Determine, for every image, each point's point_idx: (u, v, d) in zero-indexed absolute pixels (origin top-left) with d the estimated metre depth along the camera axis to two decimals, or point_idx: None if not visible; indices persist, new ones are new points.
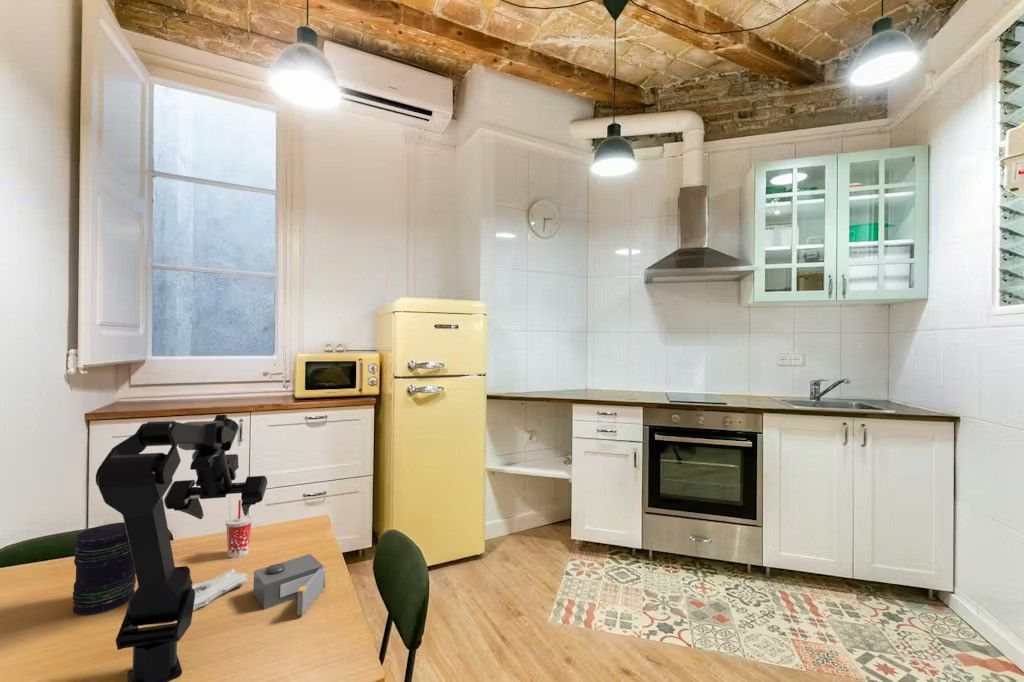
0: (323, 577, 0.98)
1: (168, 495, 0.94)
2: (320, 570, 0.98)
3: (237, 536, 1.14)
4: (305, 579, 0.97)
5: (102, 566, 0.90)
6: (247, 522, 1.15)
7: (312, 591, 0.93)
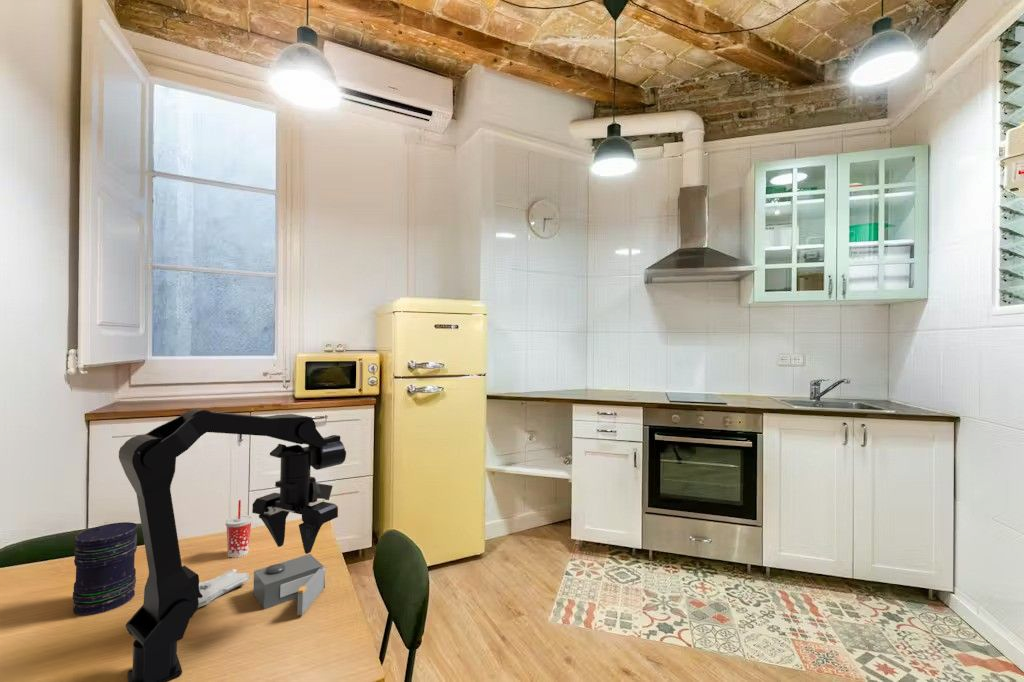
0: (323, 577, 0.98)
1: (259, 498, 0.94)
2: (320, 570, 0.98)
3: (237, 536, 1.14)
4: (305, 579, 0.97)
5: (102, 566, 0.90)
6: (247, 522, 1.15)
7: (312, 591, 0.93)
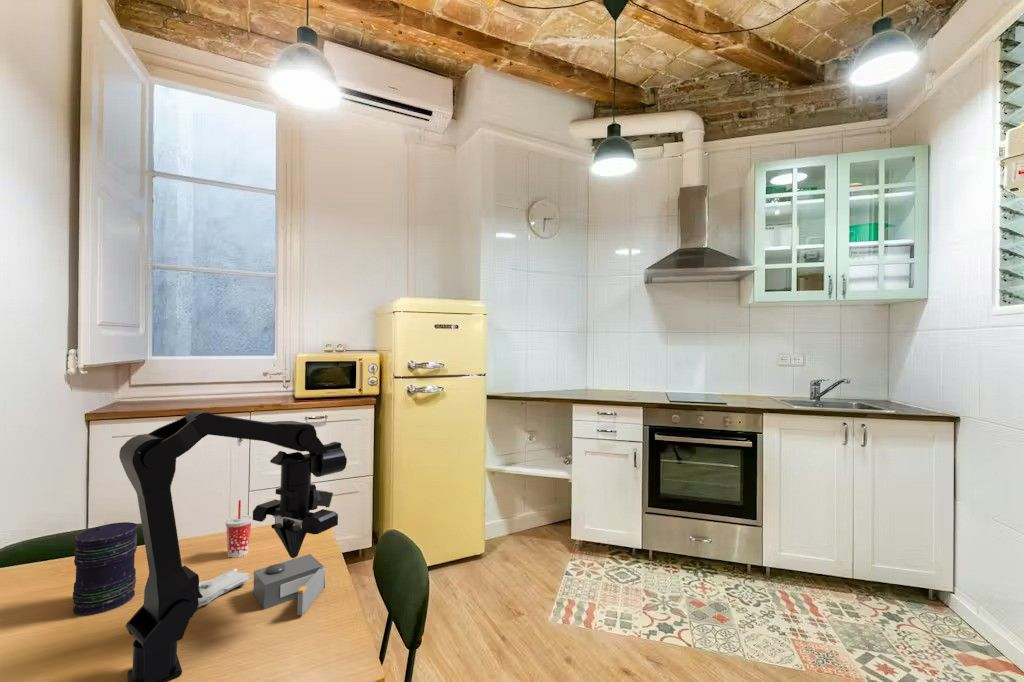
0: (323, 577, 0.98)
1: (259, 505, 0.94)
2: (320, 570, 0.98)
3: (237, 536, 1.14)
4: (305, 579, 0.97)
5: (102, 566, 0.90)
6: (247, 522, 1.15)
7: (312, 591, 0.93)
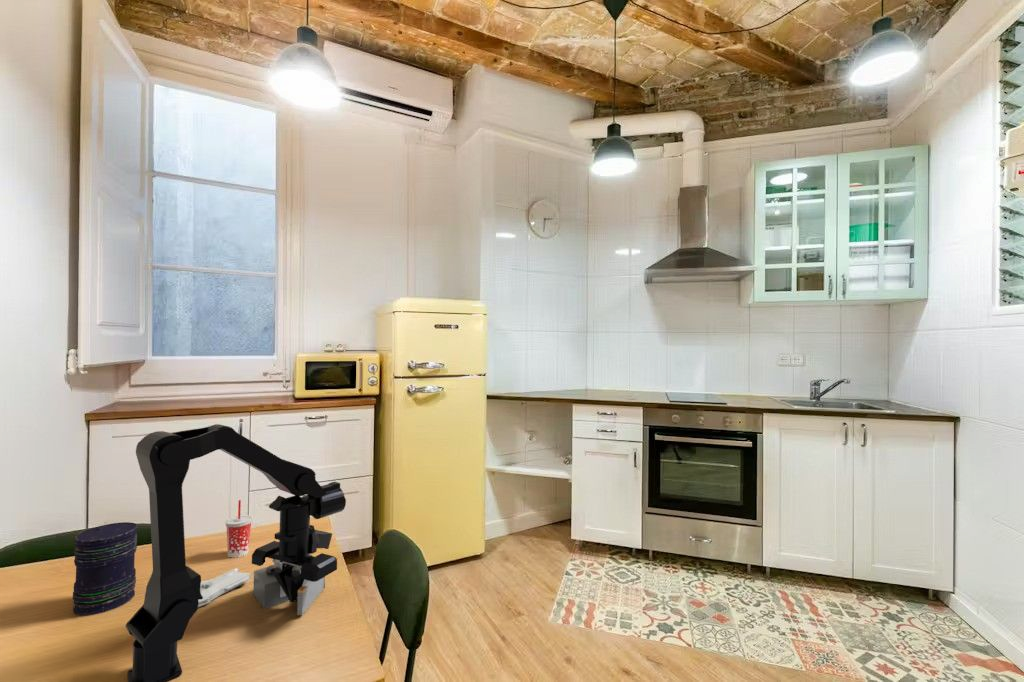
0: (323, 577, 0.98)
1: (258, 548, 0.94)
2: None
3: (237, 536, 1.14)
4: None
5: (102, 566, 0.90)
6: (247, 522, 1.15)
7: (312, 591, 0.93)
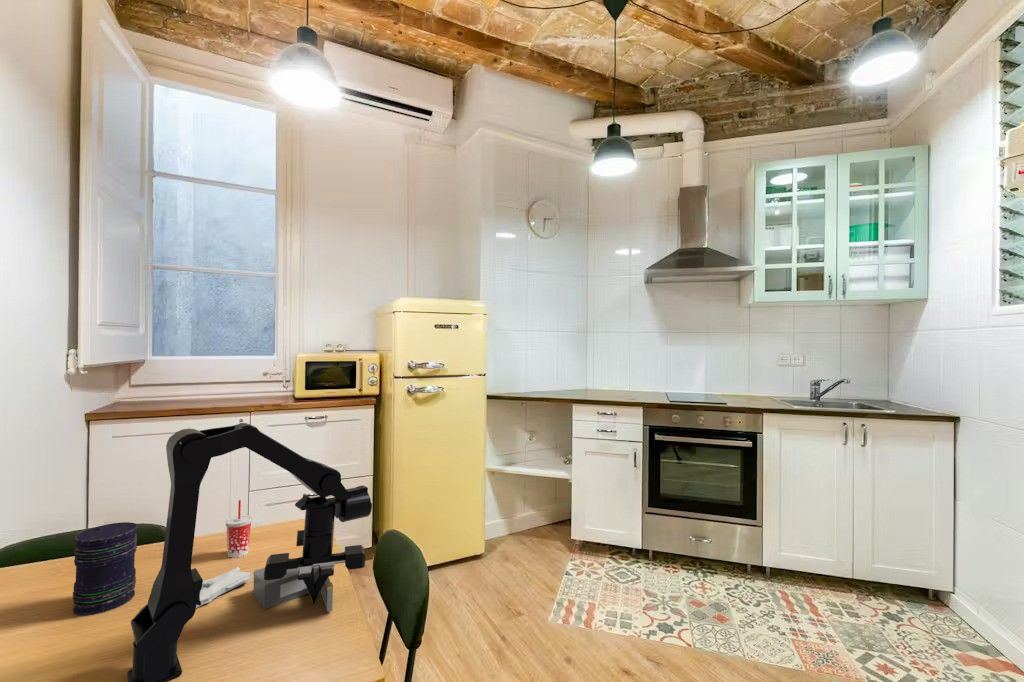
0: None
1: (269, 562, 0.87)
2: None
3: (237, 536, 1.14)
4: None
5: (102, 566, 0.90)
6: (247, 522, 1.15)
7: None
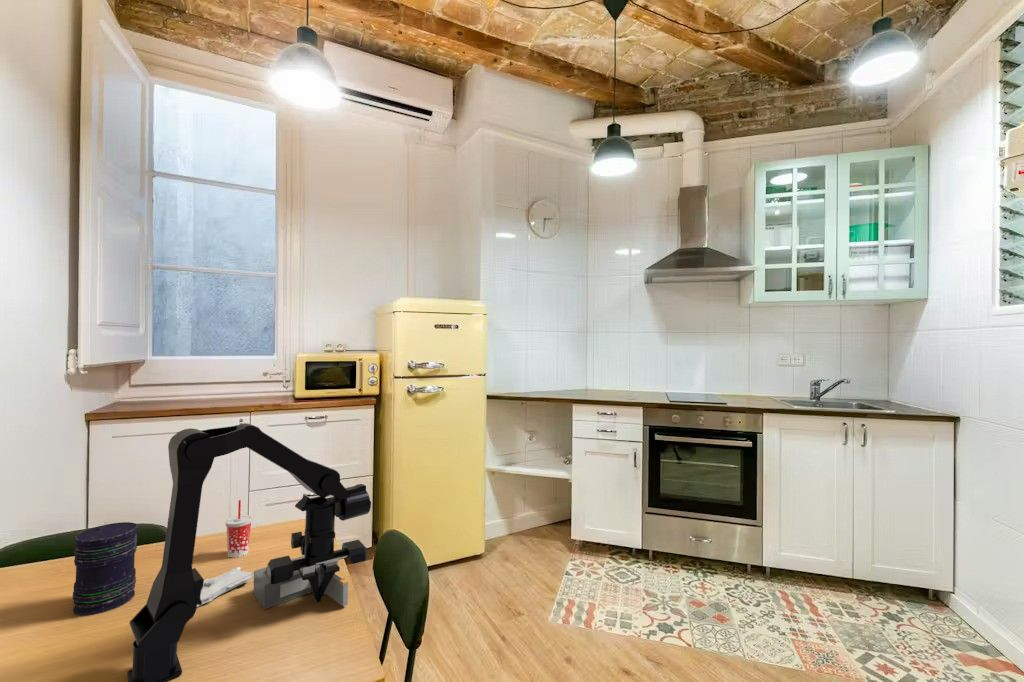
0: None
1: (274, 566, 0.86)
2: None
3: (237, 536, 1.14)
4: None
5: (102, 566, 0.90)
6: (247, 522, 1.15)
7: None
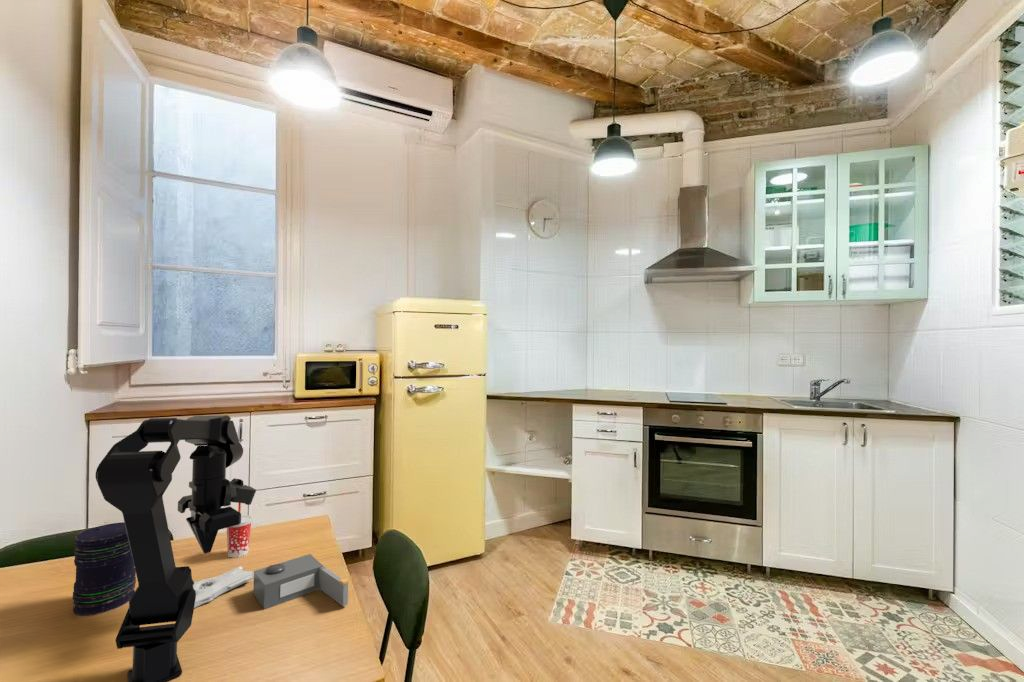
0: None
1: (185, 496, 0.95)
2: (325, 569, 0.98)
3: (237, 536, 1.14)
4: (305, 579, 0.97)
5: (102, 566, 0.90)
6: (247, 522, 1.15)
7: None
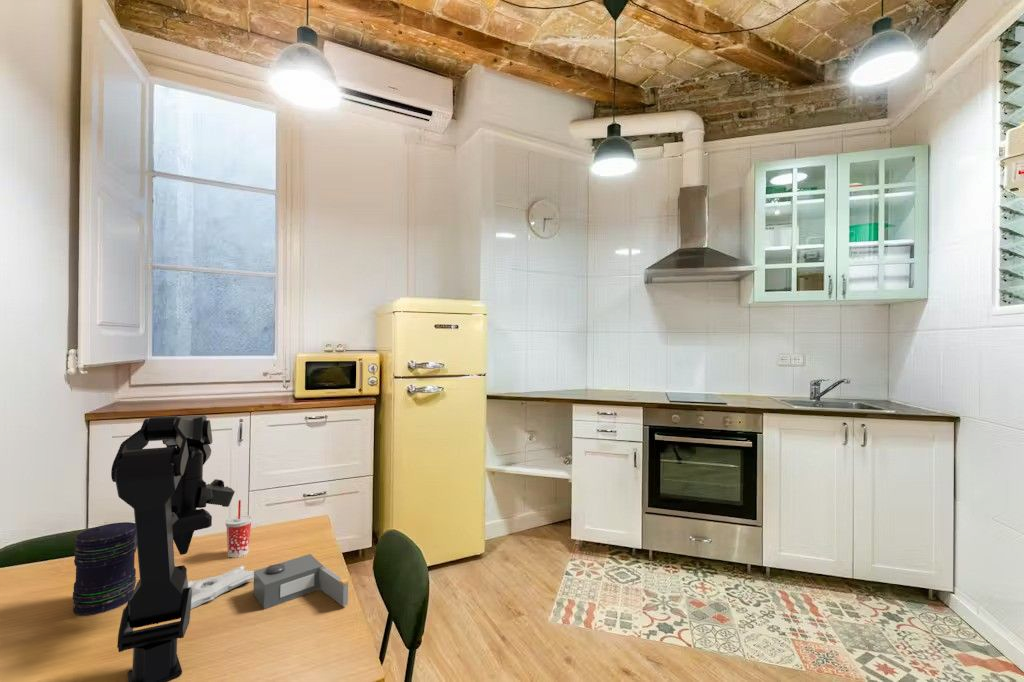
0: None
1: None
2: (325, 569, 0.98)
3: (237, 536, 1.14)
4: (305, 579, 0.97)
5: (102, 566, 0.90)
6: (247, 522, 1.15)
7: None
